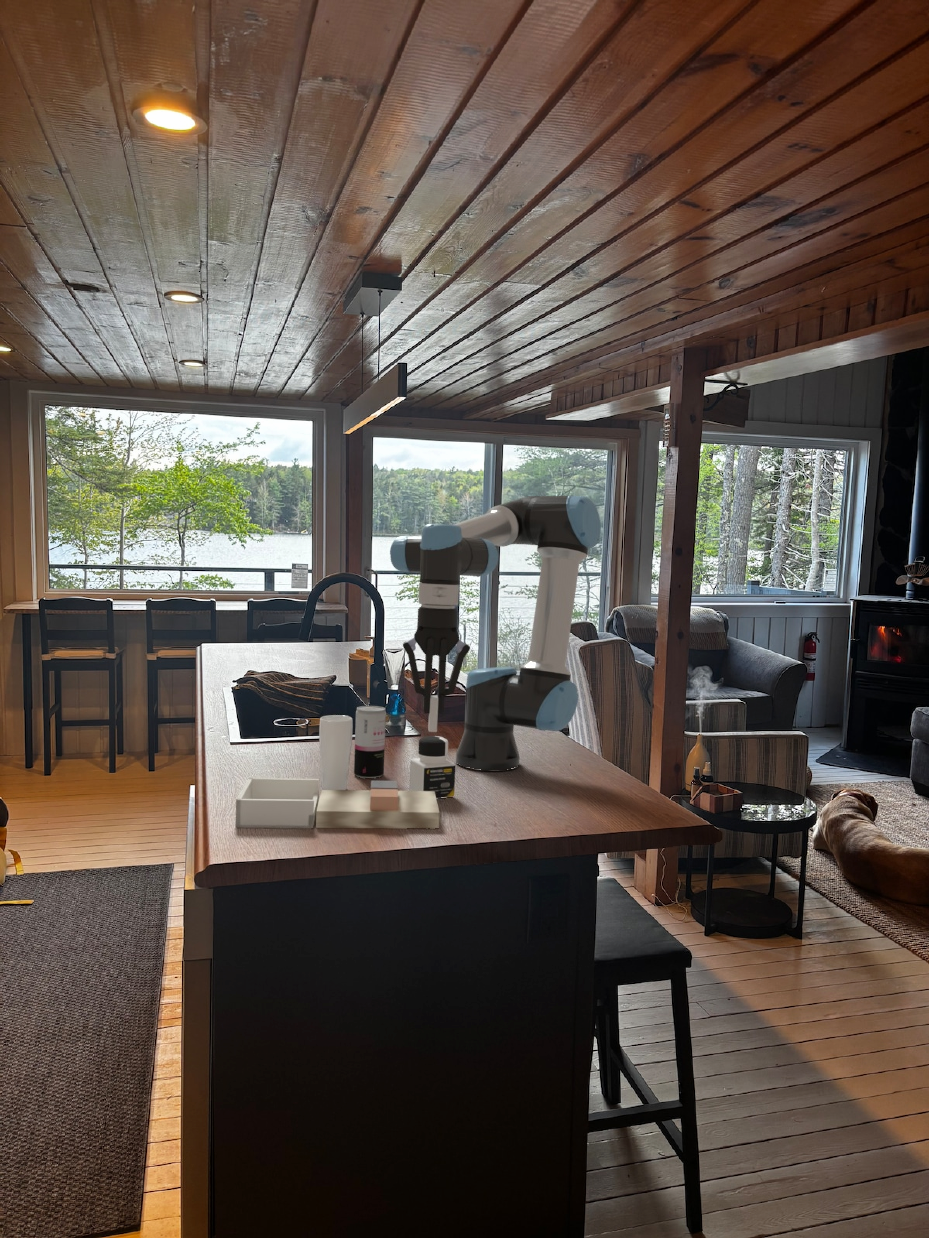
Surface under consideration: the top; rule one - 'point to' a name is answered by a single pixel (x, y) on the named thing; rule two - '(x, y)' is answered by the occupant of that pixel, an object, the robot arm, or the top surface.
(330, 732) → the white cylinder
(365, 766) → the beverage can
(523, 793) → the top surface
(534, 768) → the top surface
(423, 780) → the medicine bottle
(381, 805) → the terracotta tile
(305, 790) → the tray
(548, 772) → the top surface
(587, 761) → the top surface
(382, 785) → the slate tile
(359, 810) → the board
